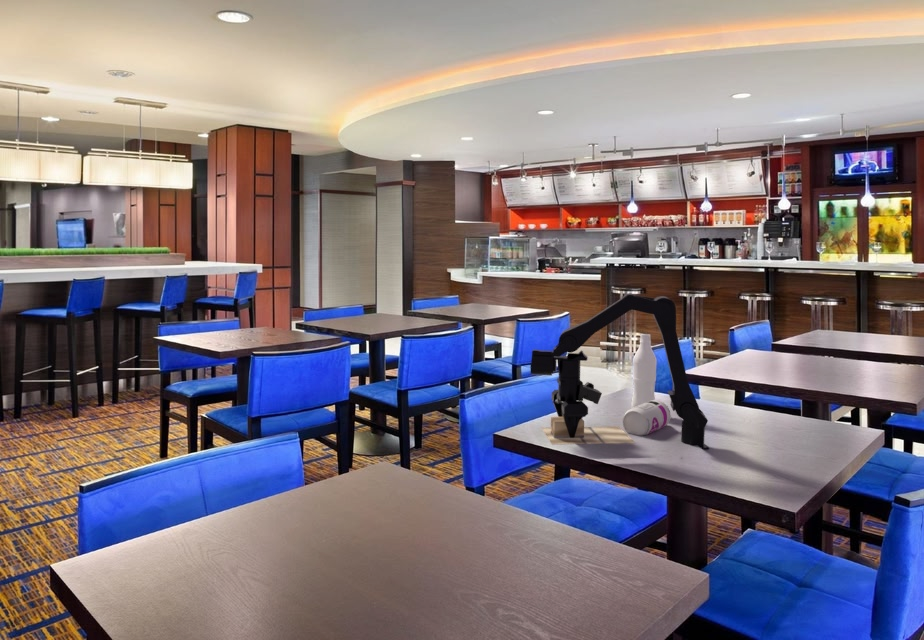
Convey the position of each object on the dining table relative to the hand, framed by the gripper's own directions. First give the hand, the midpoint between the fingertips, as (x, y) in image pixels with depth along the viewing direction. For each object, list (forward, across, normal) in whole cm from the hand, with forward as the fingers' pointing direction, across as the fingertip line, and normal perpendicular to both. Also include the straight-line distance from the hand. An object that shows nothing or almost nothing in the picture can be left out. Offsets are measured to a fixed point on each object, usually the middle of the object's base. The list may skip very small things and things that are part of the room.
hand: (568, 433), depth 182 cm
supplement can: (-2, +11, -28) cm, 31 cm away
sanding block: (+1, 0, 0) cm, 1 cm away
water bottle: (+2, +26, -29) cm, 39 cm away
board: (+2, 0, -5) cm, 5 cm away
